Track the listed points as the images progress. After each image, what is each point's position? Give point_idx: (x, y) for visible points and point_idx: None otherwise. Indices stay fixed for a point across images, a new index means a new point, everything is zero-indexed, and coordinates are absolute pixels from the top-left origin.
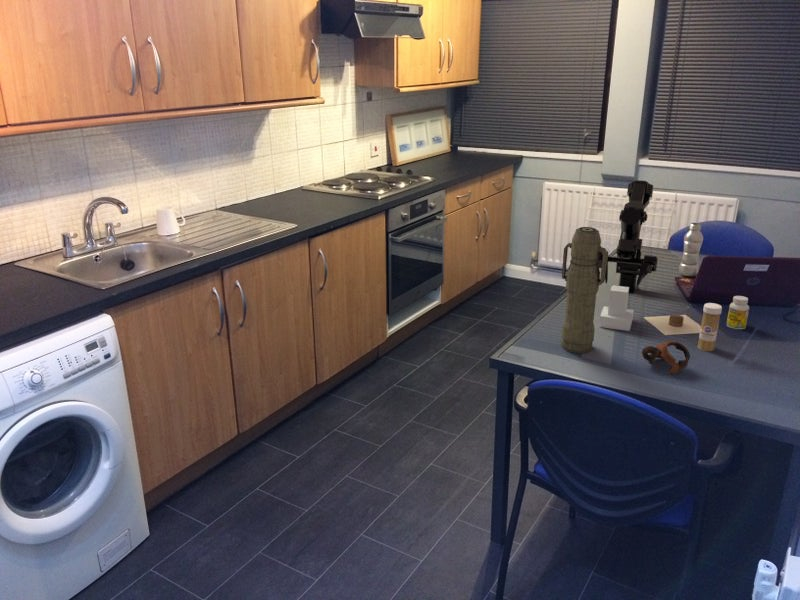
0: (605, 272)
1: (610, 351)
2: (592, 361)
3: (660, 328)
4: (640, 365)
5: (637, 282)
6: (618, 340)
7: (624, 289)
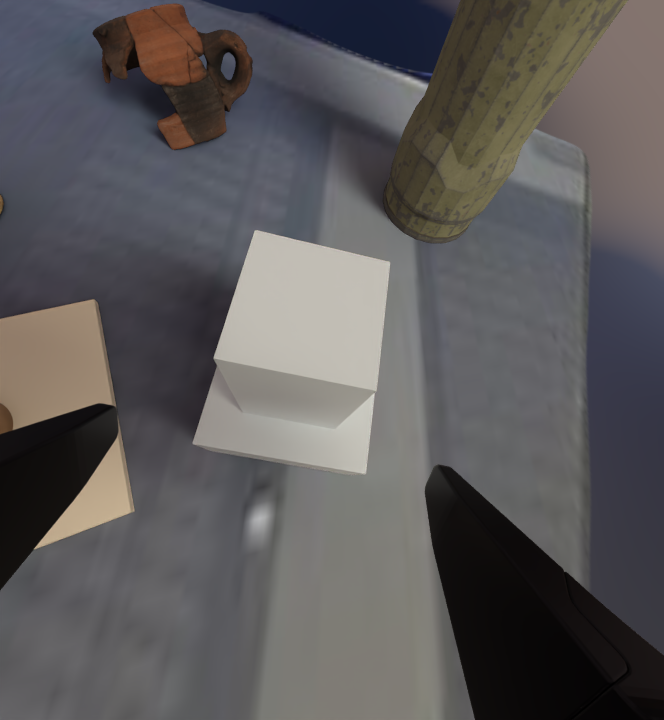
0: (533, 553)
1: (330, 184)
2: (378, 136)
3: (87, 366)
4: (254, 118)
5: (82, 417)
6: None
7: (271, 291)
